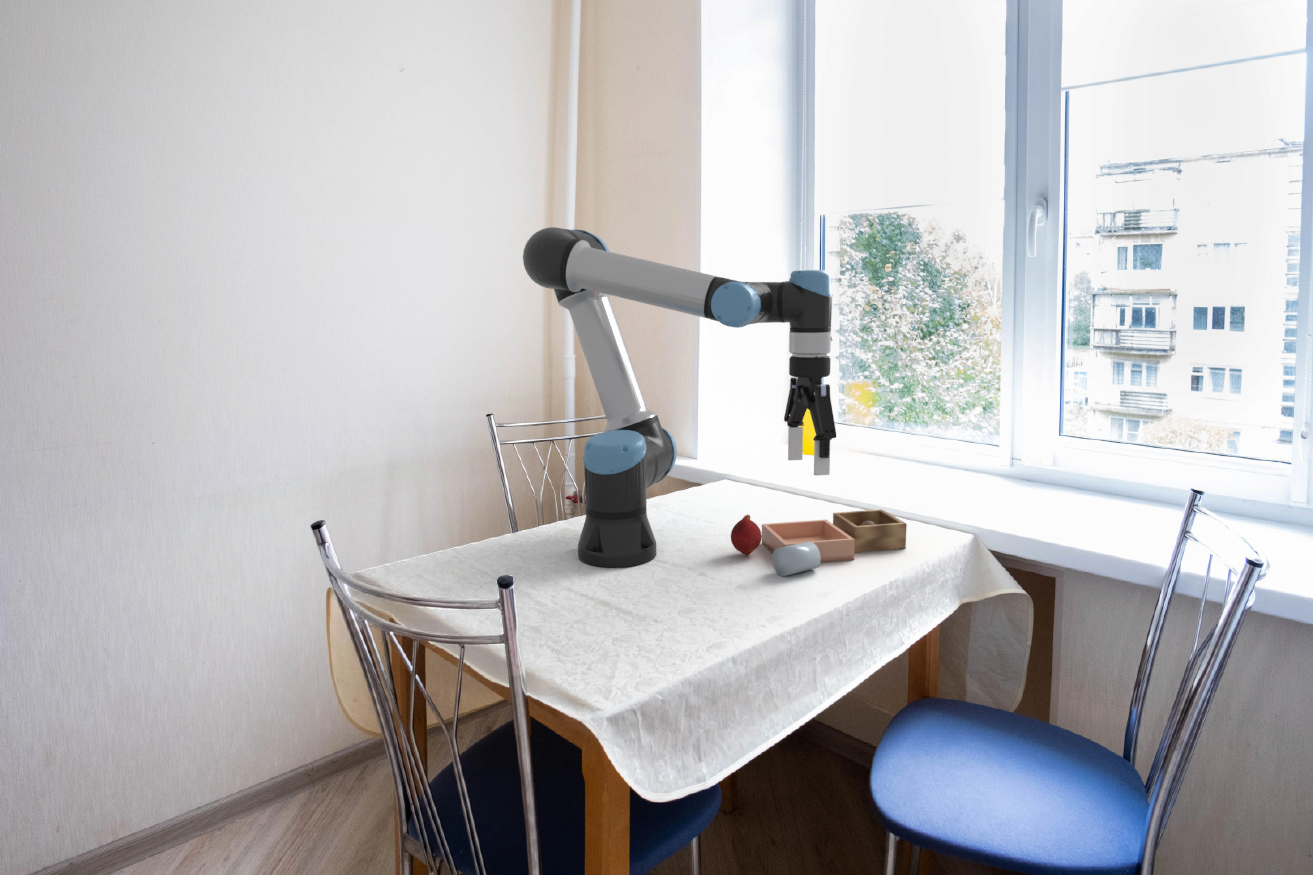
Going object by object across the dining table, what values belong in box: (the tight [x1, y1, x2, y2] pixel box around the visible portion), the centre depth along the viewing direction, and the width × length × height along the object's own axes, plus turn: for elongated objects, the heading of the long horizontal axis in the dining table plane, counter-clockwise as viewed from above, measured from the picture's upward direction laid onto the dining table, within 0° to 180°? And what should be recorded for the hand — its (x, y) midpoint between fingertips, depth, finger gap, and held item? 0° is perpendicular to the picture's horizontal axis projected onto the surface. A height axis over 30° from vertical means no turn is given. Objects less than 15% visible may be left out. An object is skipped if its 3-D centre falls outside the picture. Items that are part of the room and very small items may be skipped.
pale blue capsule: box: [771, 541, 821, 577], centre depth 147 cm, size 7×5×5 cm
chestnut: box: [860, 521, 876, 526], centre depth 163 cm, size 4×4×4 cm
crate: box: [832, 508, 908, 553], centre depth 163 cm, size 11×11×5 cm
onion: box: [730, 514, 762, 556], centre depth 156 cm, size 6×6×8 cm
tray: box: [761, 519, 855, 564], centre depth 158 cm, size 14×14×4 cm
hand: (807, 467), depth 155 cm, fingers open, 13 cm apart
